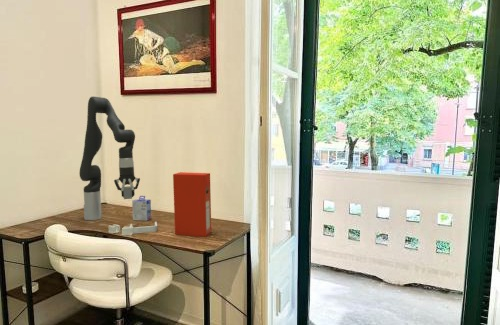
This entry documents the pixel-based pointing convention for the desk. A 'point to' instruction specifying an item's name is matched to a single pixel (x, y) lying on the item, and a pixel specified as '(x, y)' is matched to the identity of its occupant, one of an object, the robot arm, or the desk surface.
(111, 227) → the clip
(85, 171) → the robot arm
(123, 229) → the clip
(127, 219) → the desk surface
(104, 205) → the desk surface
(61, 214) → the desk surface
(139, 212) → the ink cartridge box
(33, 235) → the desk surface
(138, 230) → the bracket
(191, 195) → the file binder
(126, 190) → the connector
